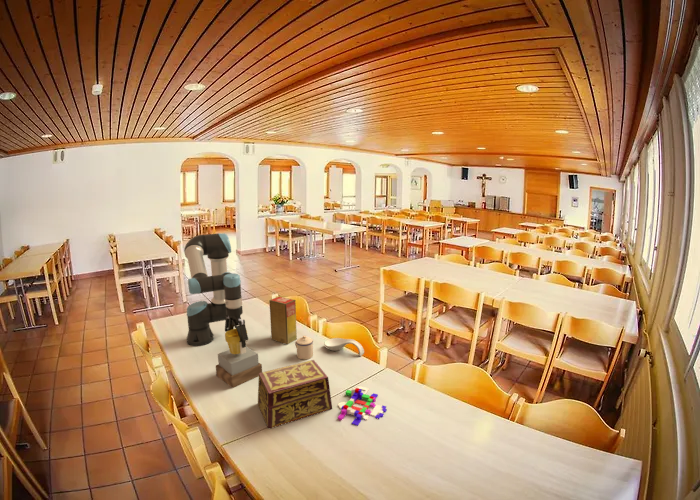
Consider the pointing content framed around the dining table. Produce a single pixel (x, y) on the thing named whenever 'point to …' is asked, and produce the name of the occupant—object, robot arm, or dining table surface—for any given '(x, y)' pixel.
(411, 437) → the dining table surface
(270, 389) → the decorative box
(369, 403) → the building block set
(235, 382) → the walnut base block
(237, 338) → the plant pot
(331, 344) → the spoon rest
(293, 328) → the food packaging
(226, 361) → the grey top block
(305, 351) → the teacup with lid
